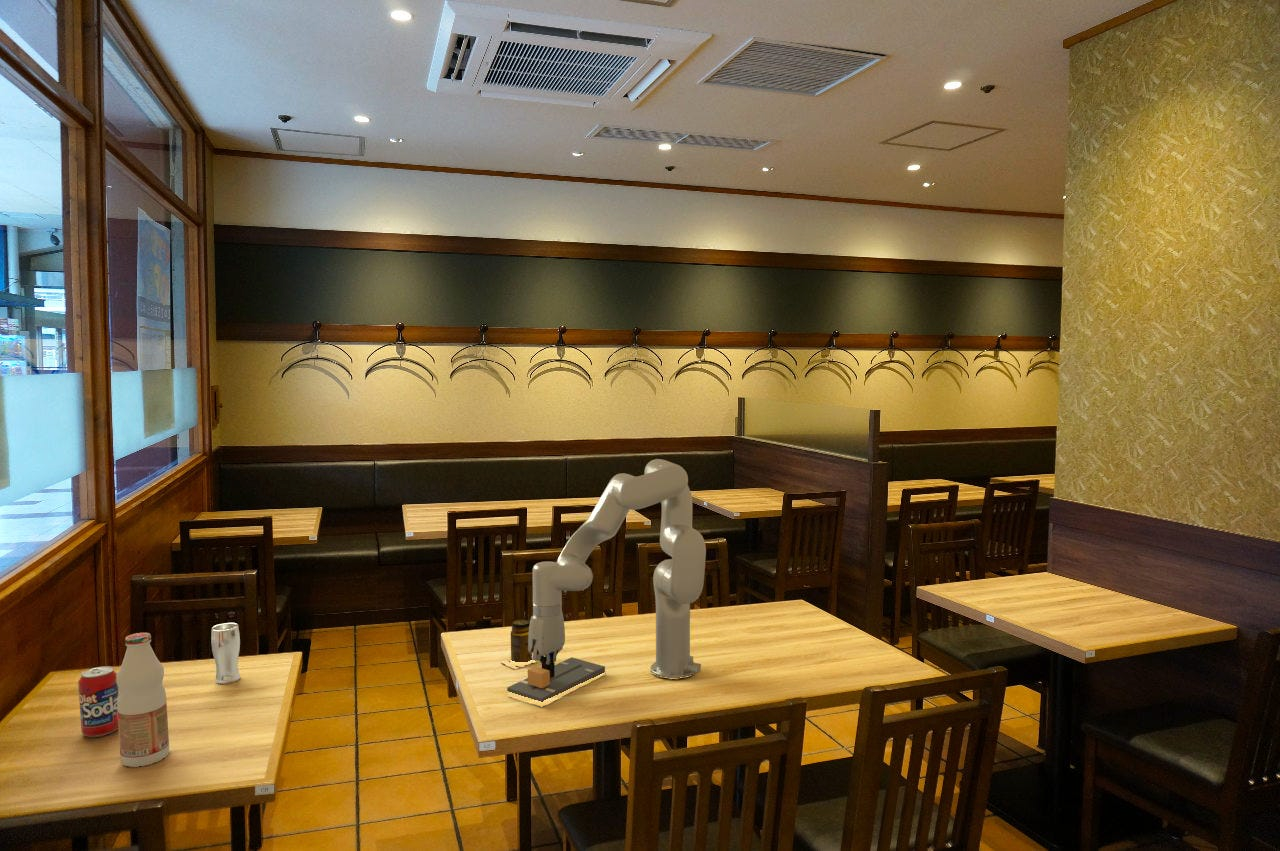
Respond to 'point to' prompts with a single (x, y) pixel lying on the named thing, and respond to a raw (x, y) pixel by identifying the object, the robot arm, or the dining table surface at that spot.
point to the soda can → (98, 701)
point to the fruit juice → (141, 704)
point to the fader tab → (538, 677)
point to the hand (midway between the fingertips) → (548, 676)
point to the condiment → (520, 641)
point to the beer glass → (226, 652)
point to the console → (559, 679)
